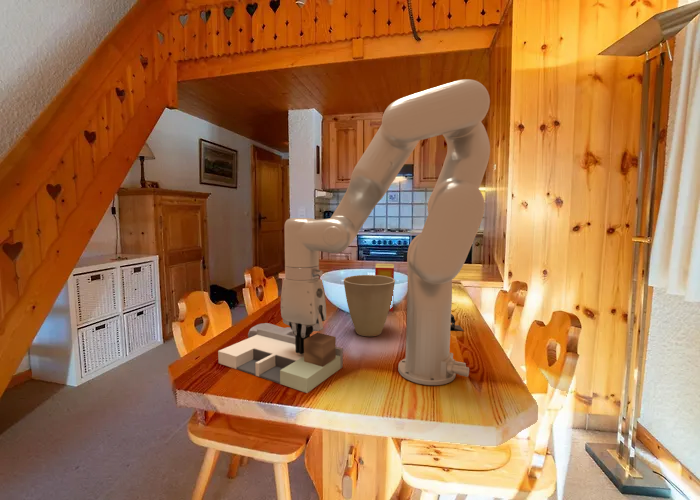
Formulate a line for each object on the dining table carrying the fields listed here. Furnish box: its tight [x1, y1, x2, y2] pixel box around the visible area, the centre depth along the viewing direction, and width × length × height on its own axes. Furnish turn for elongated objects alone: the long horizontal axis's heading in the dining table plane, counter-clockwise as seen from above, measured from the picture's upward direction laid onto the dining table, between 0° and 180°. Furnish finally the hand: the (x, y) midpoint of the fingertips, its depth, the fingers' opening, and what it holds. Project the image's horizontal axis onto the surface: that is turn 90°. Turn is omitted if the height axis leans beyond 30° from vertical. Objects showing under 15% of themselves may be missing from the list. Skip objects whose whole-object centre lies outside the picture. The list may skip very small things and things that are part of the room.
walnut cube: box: [304, 332, 337, 367], centre depth 78 cm, size 5×5×5 cm
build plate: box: [450, 313, 465, 332], centre depth 109 cm, size 12×7×5 cm, turn 87°
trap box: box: [217, 328, 344, 394], centre depth 82 cm, size 26×14×4 cm, turn 60°
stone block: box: [247, 322, 295, 339], centre depth 98 cm, size 12×5×10 cm
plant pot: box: [343, 274, 396, 337], centre depth 104 cm, size 15×15×16 cm
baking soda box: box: [374, 263, 395, 313], centre depth 129 cm, size 10×6×16 cm
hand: (302, 351), depth 81 cm, fingers closed
